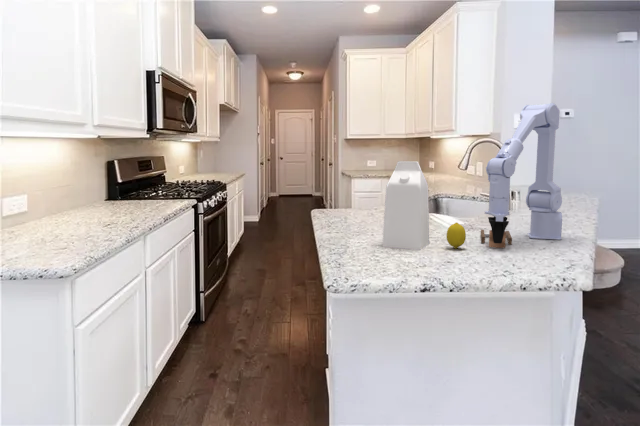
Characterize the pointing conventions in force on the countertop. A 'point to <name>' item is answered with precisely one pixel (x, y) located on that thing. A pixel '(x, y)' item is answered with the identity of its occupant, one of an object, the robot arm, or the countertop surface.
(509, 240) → the channel
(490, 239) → the block
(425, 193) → the milk
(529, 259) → the countertop surface
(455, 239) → the lemon
